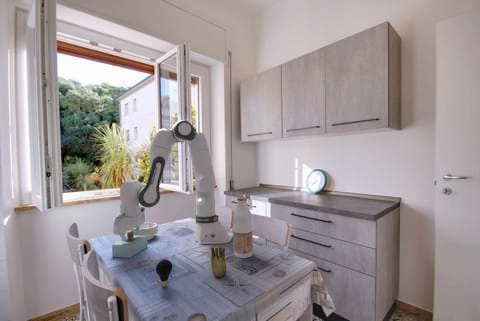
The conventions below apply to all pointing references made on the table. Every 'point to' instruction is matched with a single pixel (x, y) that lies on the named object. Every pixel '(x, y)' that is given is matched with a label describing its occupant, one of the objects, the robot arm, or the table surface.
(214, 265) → the fennel bulb
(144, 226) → the paper bowls
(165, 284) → the light bulb
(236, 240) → the fruit juice
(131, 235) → the walnut peg
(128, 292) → the table surface
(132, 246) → the hole block
